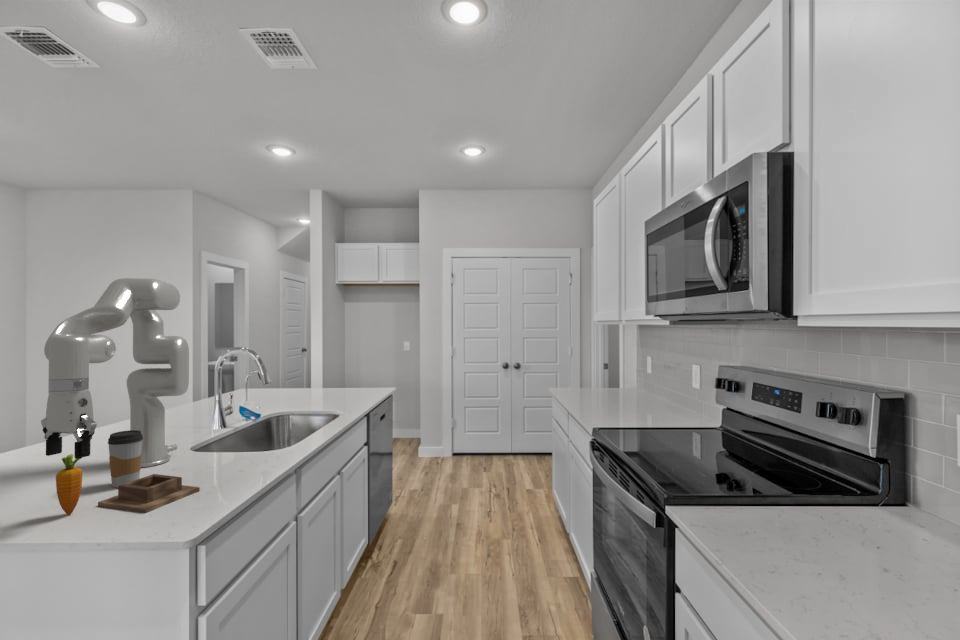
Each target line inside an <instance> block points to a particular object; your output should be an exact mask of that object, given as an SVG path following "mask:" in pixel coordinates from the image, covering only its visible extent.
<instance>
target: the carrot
mask: <svg viewBox="0 0 960 640" xmlns="http://www.w3.org/2000/svg"><path fill="white" fill-rule="evenodd" d="M73 459H74V460H73ZM81 459H82V458H78V459H76V458H74V454H73V453H71V454H68V455H66V456H64V457H62V458H61V461H62V462H63V464H64V466H65V467H64V469H60V470H59V471H58V472H57V473H56V475H55V486H56V487H55V488H56V489H55V490H56V495H57V499H58V502H59V505H60V507H61V509H62V510H63V512H64V513H65V514H66V515H68V516H71V514H73V512H74V510H75V508H76V507H77V505H78V503H79V500H80V496H81V491H82V486H83V470H82V468H80V467H74V466H75V465H76V464H77V462H78V461H79V460H81Z"/></svg>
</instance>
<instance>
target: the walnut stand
mask: <svg viewBox="0 0 960 640" xmlns="http://www.w3.org/2000/svg"><path fill="white" fill-rule="evenodd" d="M117 490H118V491H117V495H114V496H112V497H109V498H106V499H103V500H101V501H98V502H97V507H102V508H109V509H114V510H115V509H116V510H120V511H121V510H122V511H129V512H135V513H143V514H147V513H149V512H151V511H154V510H156V509H159V508H161V507H163V506H166V505H168V504H171V503H173V502H176V501H178V500H181V499H183V498H185V497H188V496H191V495H193V494H195V493H199V492H200V490H201V489H200V486H193V485H184V484H183V477H182V476H174V475H167V474H166V475H165V474H158V473H153V474H151V475H147V476H144V477H141V478H140V477H139V479H137V480H134V481H131V482H128V483H125V484H122V485H119V486H118V488H117Z"/></svg>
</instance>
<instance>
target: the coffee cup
mask: <svg viewBox="0 0 960 640" xmlns="http://www.w3.org/2000/svg"><path fill="white" fill-rule="evenodd" d="M142 440H143V435H142V434H141V431H139V430H123V431H118V432H112V433H110V434H109V438H108V439H107V445H108V454H109V458H108V459H109V471H110V477H111V479H110V480H111V486H112V487H113V488H114V489H118V486H119V485H122V484H125V483H128V482H131V481H134V480H137V479H140V475H141V474H140V473H141V468H142V467H141V454H142V452H141V450H142Z"/></svg>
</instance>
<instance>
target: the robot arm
mask: <svg viewBox="0 0 960 640" xmlns="http://www.w3.org/2000/svg"><path fill="white" fill-rule="evenodd" d="M180 301H181V294H180V292H179V290H178V288H177V286H175V285H173V284H171V283H167V282H165V281H162V280H159V279H156V278H135V277H134V278H130V277H128V278H127V277H125V278H118V279H115V280H113V281H112V282H111V283H110V284H109V285H108V286H107V288H106V289H105V290H104V291H103V293H102V295H101V296H100V298H99V299H98V300H97V301H96V302H95V304H94V306H92V307H89V308H87V309H84V310H82V311H80V312H78V313H77V314H73V315H72V316H70V317H67V318H65V319H64V320H63V321H61V322H60V323H59V324H58V325H57V326H56V327H55V328H54V330H53V331H52V332H51V333H50V335H49V336H48V338H47V340H46V341H45V344H44V348H43V349H44V350H43V352H44V356H45V358H46V360H48V387H47V390H48V392H47V393H48V397H47V400H46V401H47V402H46V411H45V417H44V418H43V419H41V421H40V423H41V427H42V432H43V433H44V436H43V437H44V440H45V455H46V456H47V457H50V456H53V455H59V454H61V453H62V452H63V436H61V435H62V434H72V435H73V436H74V438H75V440H76V441H74V455H73V458H74V459H78V458H81V459H83V458H86V457H89V456H91V440H92V439H93V435H94V434H95V430H96V429H97V424H98V423H97V422H96V421H94V407H93V406H94V405H93V399H92V394H91V391H90V389H89V387H90V386H89V385H90V384H89V382H90V379H89V378H90V364H101V363H102V364H103V363H106V362H108V361H109V360H111V359H112V358H113V357H114V356H115V354H116V351H117V349H116V348H117V346H116V343H115V341H114V340H113V339H112V338H111V337H109V336H107V335H103V334H98V333H102V332H103V333H104V332H107V331H110V330H114V329H117V328H120V327H122V326H123V325H125V324H126V322H127V321H128V320H129V318H130V319H131V324H132V357H133V359H134V362H136V363H137V364H141V365H169V366H170V367H165V368H163V367H162V368H161V367H158V368H157V367H155V368H153V367H151V368H149V367H148V368H139V369H135V370H133V371H132V372H130V373H129V374H128V376H127V378H126V388H127V393H128V398H129V407H130V408H129V409H130V410H129V411H130V412H129V413H130V415H129V416H130V417H129V418H130V420H129V421H130V423H129V425H130V426H129V429H130V430H139V431H141V434H142V435H143V440H142V450H141V452H142V454H141V467H140V468H146V467H148V468H149V467H153V466H158V465H162V464H165V463H166V462H169V461H170V460H171V455H170V454H169V453H170V452H172V451H176V450H177V449H178V445H177V444H172V445H166V444H165V441H166V439H165V438H166V423H165V422H166V421H165V420H166V417H165V415H166V411H165V410H166V409H165V406H164V404H163V403H162V402H161V400H160V399H159V398H158V397H178V396H183V395H184V394H186V392H187V391H188V389H189V382H190V378H189V377H190V348H189V343H188V342H187V339H186V338H184V337H182V336H179V335H165V333H164V329H165V328H164V320H163V318H162V316H161V315H160V314H159V312H157V311H173V310H174V309H176V308H177V307H178V306H180ZM130 430H129V431H130ZM81 433H82V434H81Z"/></svg>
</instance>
